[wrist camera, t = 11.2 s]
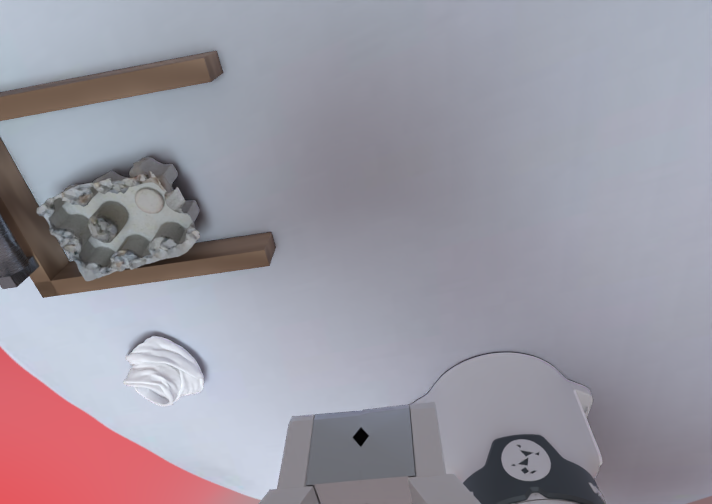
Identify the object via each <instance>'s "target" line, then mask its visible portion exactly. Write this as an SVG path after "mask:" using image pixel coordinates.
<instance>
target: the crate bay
mask: <svg viewBox="0 0 712 504" xmlns="http://www.w3.org/2000/svg"><path fill="white" fill-rule="evenodd" d="M222 73H223V71H222V67H221V64H220V61H219V57H218V54H217V51H212V52H207V53H201V54H196V55H191V56H186V57H181V58H176V59H170V60H165V61H160V62H155V63H150V64H144V65H139V66H134V67H129V68H124V69H119V70H113V71H108V72H103V73H98V74H93V75H88V76H82V77H77V78H72V79H67V80H62V81H57V82H51V83H46V84H41V85H36V86H31V87H26V88H20V89H15V90H10V91H5V92H0V121H3V120H8V119H13V118H19V117H24V116H29V115H35V114H40V113H46V112H51V111H56V110H62V109H67V108H72V107H78V106H83V105H89V104H94V103H99V102H105V101H110V100H115V99H121V98H126V97H132V96H137V95H142V94H148V93H153V92H158V91H164V90H169V89H175V88H180V87H185V86H191V85H196V84H201V83H207V82H212V81H213V80H214V79H216V78H217V77H218V76H220V75H221V74H222ZM38 207H39V206H38V204H37V203H36V201H35V199H34V197H33V195H32V194H31V192H30V190H29V188H28V186H27V185H26V183H25V181H24V179H23V178H22V176H21V174H20V172H19V170H18V169H17V167H16V165H15V163H14V161H13V160H12V158H11V156H10V154H9V152H8V151H7V149H6V147H5V145H4V143H3V142H2V140H1V138H0V214H1V216H2V217H3V219H4V221H5V222H6V224H7V226H8V227H9V229H10V230H11V232H12V234H13V235H14V237H15V239H16V240H17V242H18V244H19V245H20V247H21V249H22V250H23V252H24V254H25V255H26V257H28V256H34V257H35V259H36V261H37V262H38V264H39V267H38V268H37V269H36V270H35V271H34V272H33V273H32V274H31V275H29V276H30V278H31V279H32V281H33V282H34V284H35V286H36V287H37V289H38V290H39V292H40V294H41V295H42V297H43V298H44V297H51V296H58V295H65V294H72V293H79V292H87V291H94V290H101V289H108V288H115V287H122V286H129V285H137V284H144V283H151V282H158V281H165V280H172V279H179V278H186V277H194V276H201V275H208V274H215V273H222V272H229V271H236V270H243V269H251V268H258V267H265V266H270V263H271V260H272V257H273V254H274V251H275V248H276V246H275V243H274V240H273V236H272V233H271V232H268V233H261V234H254V235H248V236H241V237H234V238H227V239H221V240H214V241H207V242H200V243H195V244H194V245H193V246H192V247H191V248H190V250H189V251H188V252H186V253H185V254H183V255H181V256H179V257H173V258H168V259H163V260H159V261H156V262H154V263H150V264H146V265H143V266H140V267H138V268H135V269H133V270H131V269H130V268H126V269H125V270H123V271H116V272H113V273H111V274H109V275H106V276H103V277H100V278H97V279H94V280H91V281H85V279H84V278H83V276H82V275H81V273H80V271H79V269H78V267H77V264H76V262H74V261H72V262H69V260H68V258H67V256H66V255H65V253H64V251H63V249H62V247H61V246H60V244H59V242H58V240H57V238H56V237H55V236H53V235H51V234H50V231H49V228H50V226H49V224H48V222H47V221H46V219H45V218H44V217H43V216H39V215H38V214H37V210H36V209H37V208H38Z"/></svg>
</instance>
